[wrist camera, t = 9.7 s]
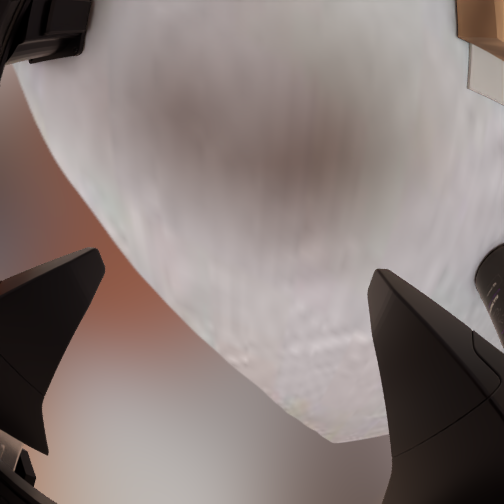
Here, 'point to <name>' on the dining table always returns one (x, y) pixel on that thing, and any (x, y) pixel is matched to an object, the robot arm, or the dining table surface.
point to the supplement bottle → (493, 288)
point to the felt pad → (486, 74)
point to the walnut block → (482, 24)
